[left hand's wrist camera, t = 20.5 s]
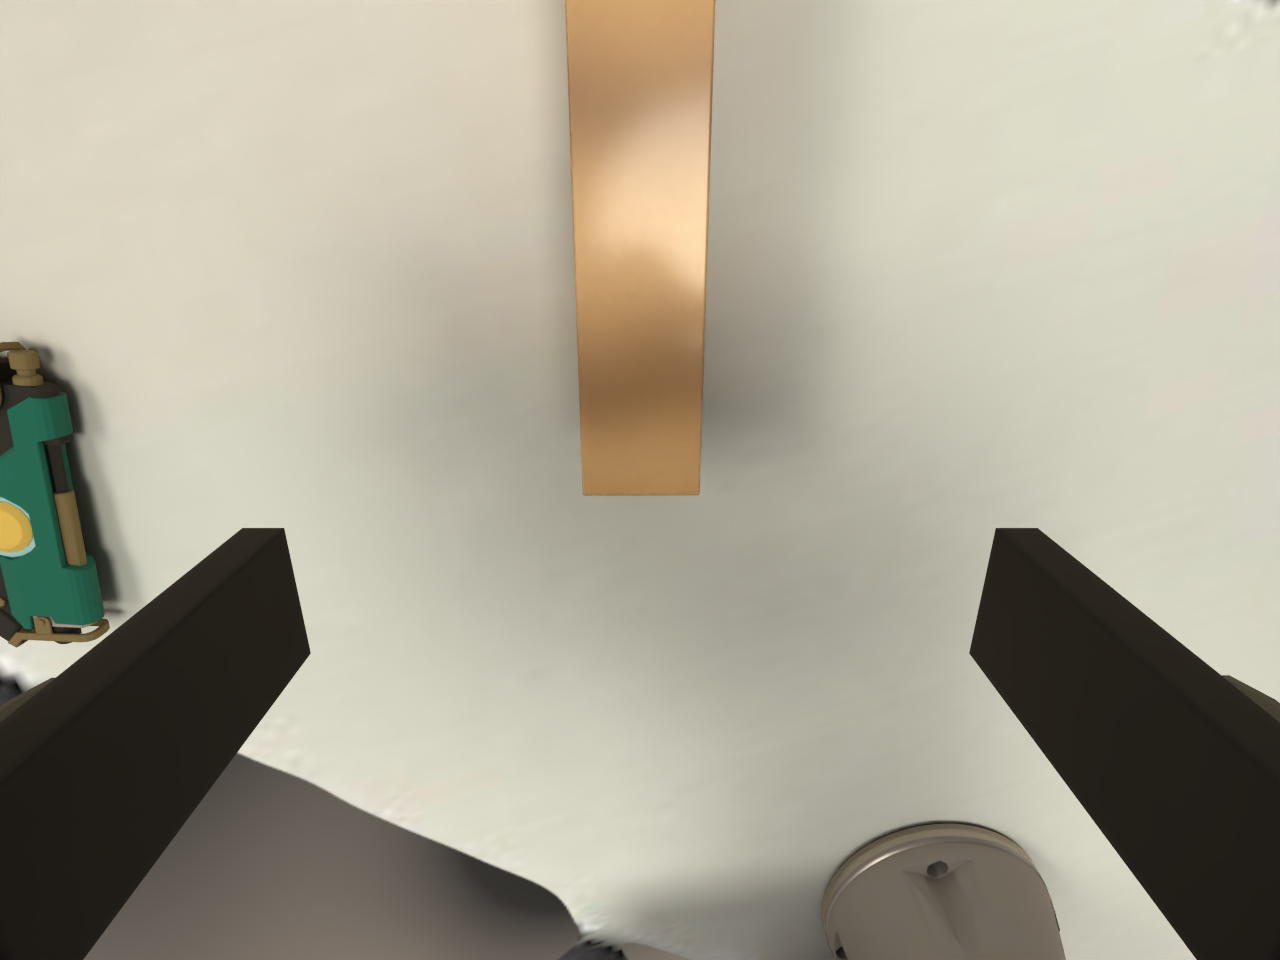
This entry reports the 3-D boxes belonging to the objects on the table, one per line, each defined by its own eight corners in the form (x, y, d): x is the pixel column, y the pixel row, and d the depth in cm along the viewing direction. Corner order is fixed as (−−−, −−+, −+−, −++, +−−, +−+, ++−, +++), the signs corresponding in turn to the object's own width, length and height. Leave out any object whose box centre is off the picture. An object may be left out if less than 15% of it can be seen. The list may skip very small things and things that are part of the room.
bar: (684, 425, 36) (699, 496, 27) (596, 425, 36) (582, 496, 27) (699, -242, 26) (731, -475, 17) (579, -242, 26) (548, -474, 17)
